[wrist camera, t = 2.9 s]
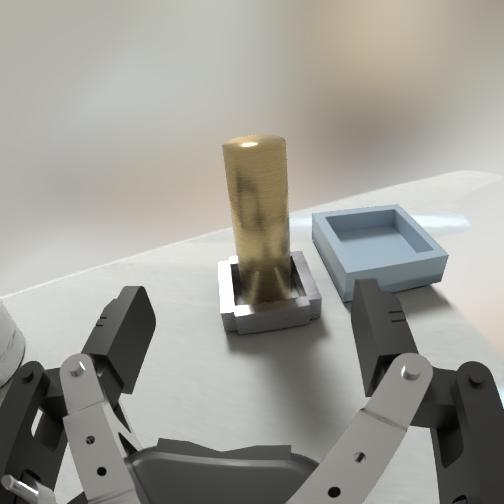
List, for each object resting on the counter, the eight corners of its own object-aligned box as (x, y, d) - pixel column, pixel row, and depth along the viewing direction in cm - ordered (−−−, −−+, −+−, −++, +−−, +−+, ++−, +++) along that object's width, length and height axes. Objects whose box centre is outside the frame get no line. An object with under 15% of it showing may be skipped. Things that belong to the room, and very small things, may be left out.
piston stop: (245, 317, 25) (223, 154, 18) (241, 286, 29) (221, 138, 21) (295, 310, 25) (291, 146, 18) (286, 279, 29) (278, 132, 22)
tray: (343, 302, 26) (346, 273, 24) (312, 238, 34) (312, 213, 32) (440, 281, 26) (448, 254, 24) (394, 228, 34) (398, 204, 33)
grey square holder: (225, 336, 24) (221, 318, 23) (221, 276, 30) (218, 259, 29) (321, 321, 24) (323, 302, 23) (300, 265, 30) (300, 247, 29)
